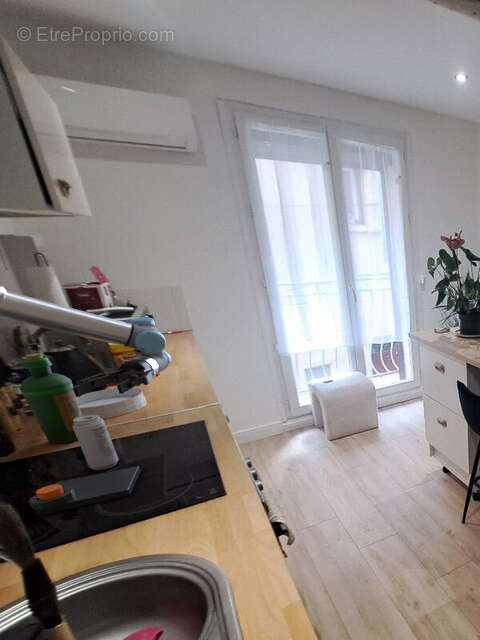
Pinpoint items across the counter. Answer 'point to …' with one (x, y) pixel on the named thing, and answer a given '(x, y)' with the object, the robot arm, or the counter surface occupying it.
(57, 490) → the tare button
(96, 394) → the dish
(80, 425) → the energy drink can
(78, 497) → the scale
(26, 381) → the bottle
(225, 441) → the counter surface
